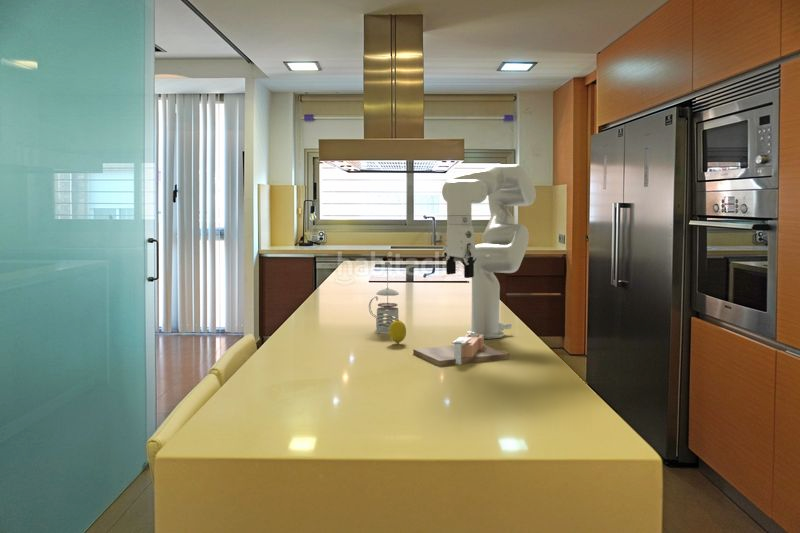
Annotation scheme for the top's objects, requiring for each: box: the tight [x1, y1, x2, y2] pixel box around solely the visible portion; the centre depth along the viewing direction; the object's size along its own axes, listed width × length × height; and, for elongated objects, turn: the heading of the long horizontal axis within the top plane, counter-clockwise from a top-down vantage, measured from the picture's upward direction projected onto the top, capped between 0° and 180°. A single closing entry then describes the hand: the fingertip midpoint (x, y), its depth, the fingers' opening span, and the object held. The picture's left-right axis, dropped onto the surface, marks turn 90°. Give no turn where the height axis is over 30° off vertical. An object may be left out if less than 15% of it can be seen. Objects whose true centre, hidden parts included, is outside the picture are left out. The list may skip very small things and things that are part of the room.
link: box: [463, 333, 485, 357], centre depth 204 cm, size 17×5×4 cm, turn 164°
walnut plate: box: [412, 344, 510, 367], centre depth 204 cm, size 23×17×2 cm
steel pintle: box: [470, 332, 477, 337], centre depth 210 cm, size 2×2×4 cm
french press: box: [368, 261, 400, 335], centre depth 243 cm, size 10×12×25 cm
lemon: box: [388, 318, 407, 345], centre depth 222 cm, size 6×6×8 cm
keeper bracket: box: [451, 336, 471, 366], centre depth 197 cm, size 8×4×6 cm, turn 159°
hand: (459, 275), depth 214 cm, fingers open, 9 cm apart
